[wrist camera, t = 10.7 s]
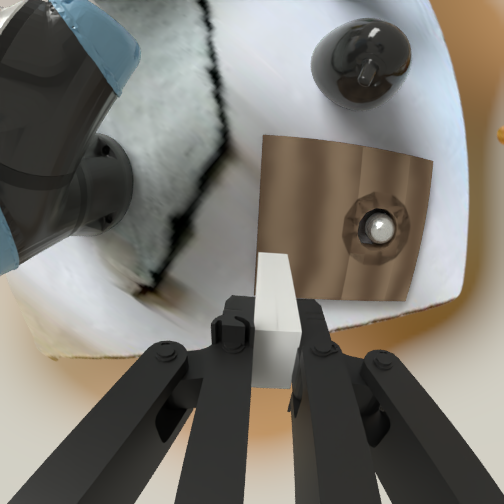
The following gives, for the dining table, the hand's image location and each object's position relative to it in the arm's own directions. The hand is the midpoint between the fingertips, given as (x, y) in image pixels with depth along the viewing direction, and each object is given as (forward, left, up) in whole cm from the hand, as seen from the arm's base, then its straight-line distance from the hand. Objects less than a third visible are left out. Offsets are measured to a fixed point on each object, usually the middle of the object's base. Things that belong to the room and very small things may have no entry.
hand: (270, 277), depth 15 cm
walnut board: (+10, -1, -21) cm, 24 cm away
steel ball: (+14, -1, -19) cm, 24 cm away
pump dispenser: (+9, +18, -22) cm, 29 cm away
